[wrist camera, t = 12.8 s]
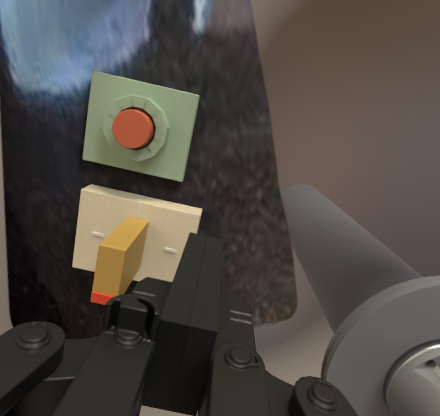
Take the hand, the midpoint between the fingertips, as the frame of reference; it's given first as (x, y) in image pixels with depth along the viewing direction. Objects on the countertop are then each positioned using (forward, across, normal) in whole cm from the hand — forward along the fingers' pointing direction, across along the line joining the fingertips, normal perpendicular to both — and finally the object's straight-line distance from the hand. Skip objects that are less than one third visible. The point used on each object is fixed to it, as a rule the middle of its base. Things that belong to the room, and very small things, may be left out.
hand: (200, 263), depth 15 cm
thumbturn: (+23, -8, -10) cm, 27 cm away
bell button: (+24, -10, +3) cm, 26 cm away
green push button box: (+26, -10, +3) cm, 28 cm away
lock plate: (+26, -8, -10) cm, 29 cm away
